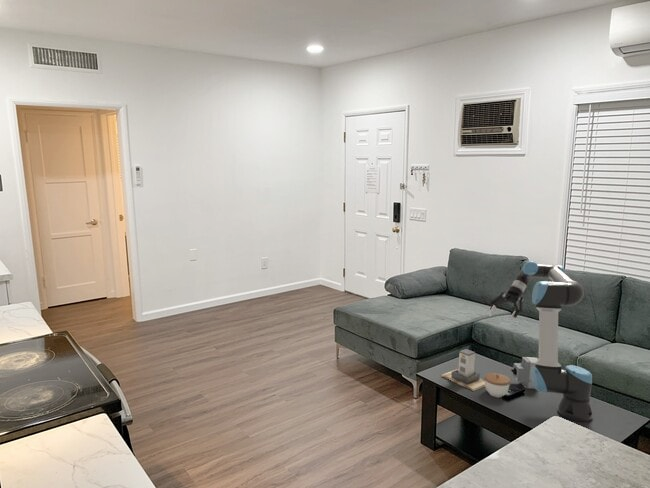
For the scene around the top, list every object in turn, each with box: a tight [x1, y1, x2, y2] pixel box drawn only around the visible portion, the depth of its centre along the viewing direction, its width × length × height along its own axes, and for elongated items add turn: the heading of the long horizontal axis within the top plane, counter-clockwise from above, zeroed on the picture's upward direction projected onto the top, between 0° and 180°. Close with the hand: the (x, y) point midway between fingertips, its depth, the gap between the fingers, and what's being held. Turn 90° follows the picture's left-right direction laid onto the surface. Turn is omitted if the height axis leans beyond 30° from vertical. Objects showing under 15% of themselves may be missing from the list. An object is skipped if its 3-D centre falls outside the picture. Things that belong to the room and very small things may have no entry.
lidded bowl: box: [484, 372, 511, 398], centre depth 248 cm, size 13×13×11 cm
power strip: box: [457, 348, 476, 377], centre depth 263 cm, size 6×6×16 cm
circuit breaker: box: [511, 356, 539, 390], centre depth 260 cm, size 8×14×15 cm, turn 88°
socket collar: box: [451, 369, 481, 384], centre depth 265 cm, size 11×11×4 cm
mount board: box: [441, 368, 486, 392], centre depth 265 cm, size 22×14×1 cm, turn 35°
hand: (499, 318), depth 271 cm, fingers open, 13 cm apart
